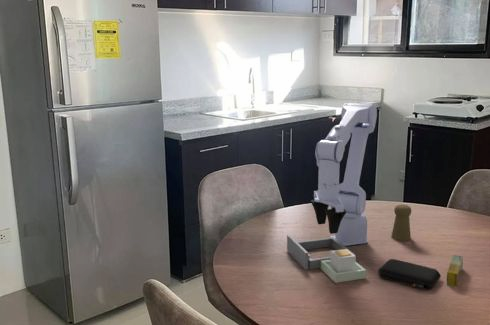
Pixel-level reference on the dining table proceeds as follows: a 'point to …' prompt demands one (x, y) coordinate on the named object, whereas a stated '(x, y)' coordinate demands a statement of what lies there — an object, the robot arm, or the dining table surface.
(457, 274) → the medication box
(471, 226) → the dining table surface
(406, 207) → the cork
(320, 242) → the case
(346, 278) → the bay
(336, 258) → the block
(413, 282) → the carrying case or bag
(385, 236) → the dining table surface
